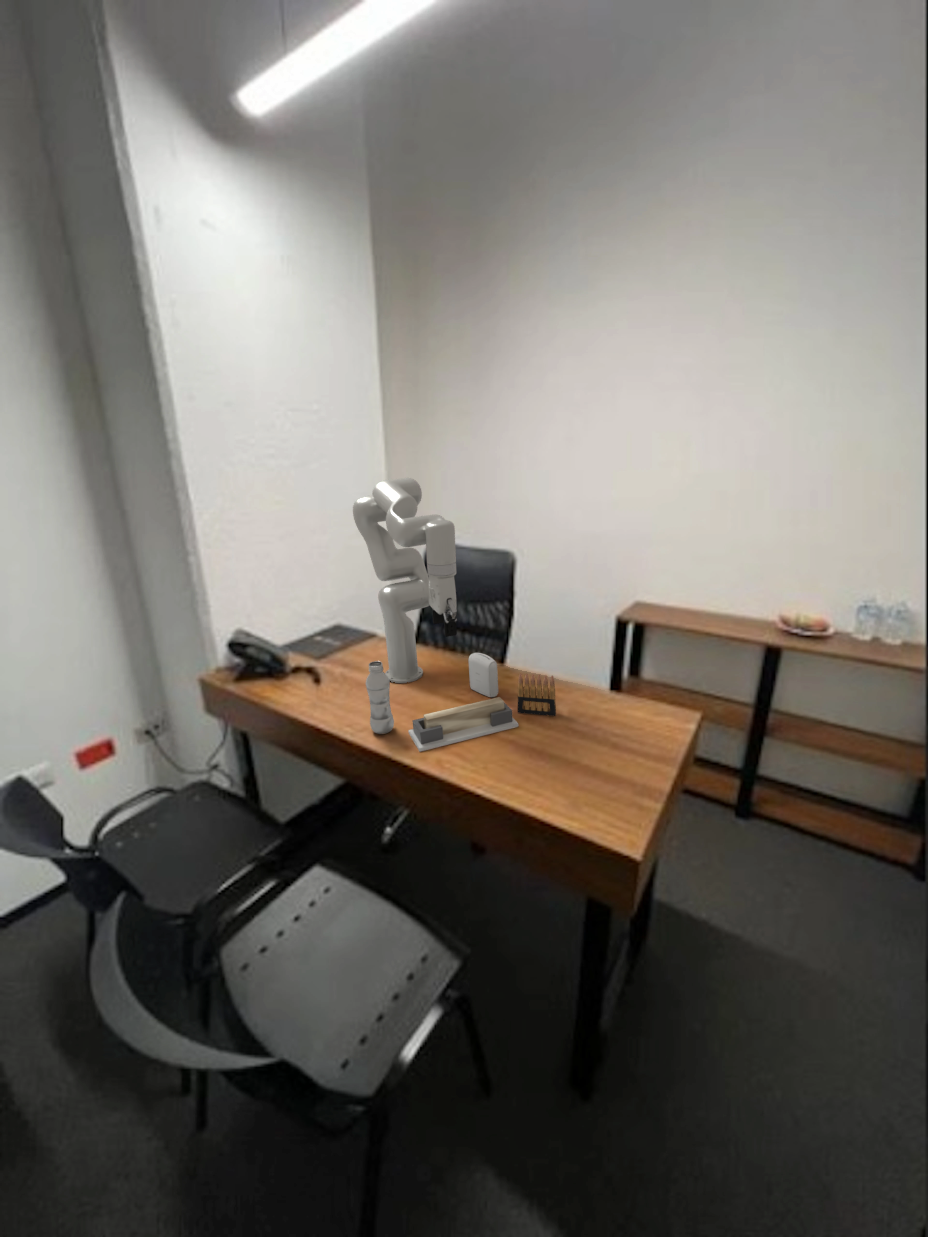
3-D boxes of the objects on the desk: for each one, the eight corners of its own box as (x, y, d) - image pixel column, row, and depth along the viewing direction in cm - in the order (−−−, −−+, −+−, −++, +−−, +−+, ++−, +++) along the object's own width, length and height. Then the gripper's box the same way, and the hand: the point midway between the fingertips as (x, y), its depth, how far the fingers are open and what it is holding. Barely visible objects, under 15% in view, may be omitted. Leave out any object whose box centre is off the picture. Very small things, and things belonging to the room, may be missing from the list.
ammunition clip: (517, 712, 161) (516, 674, 157) (518, 709, 162) (517, 671, 158) (555, 716, 158) (555, 677, 154) (556, 713, 159) (556, 674, 155)
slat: (425, 733, 151) (423, 714, 149) (500, 714, 158) (499, 697, 156) (428, 738, 148) (427, 719, 146) (504, 719, 155) (504, 701, 154)
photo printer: (467, 688, 177) (465, 652, 173) (478, 684, 179) (476, 648, 175) (490, 699, 169) (488, 661, 165) (500, 694, 172) (499, 657, 168)
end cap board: (408, 733, 153) (407, 718, 152) (502, 710, 162) (502, 696, 161) (419, 751, 144) (418, 736, 143) (518, 726, 153) (518, 711, 152)
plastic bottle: (389, 722, 159) (382, 656, 153) (398, 732, 154) (391, 665, 147) (367, 729, 156) (359, 662, 150) (376, 739, 151) (368, 671, 144)
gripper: (418, 562, 154) (421, 620, 160) (438, 579, 139) (441, 643, 145) (444, 558, 156) (446, 616, 162) (467, 575, 141) (469, 638, 147)
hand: (444, 629), depth 154 cm, fingers open, 9 cm apart
